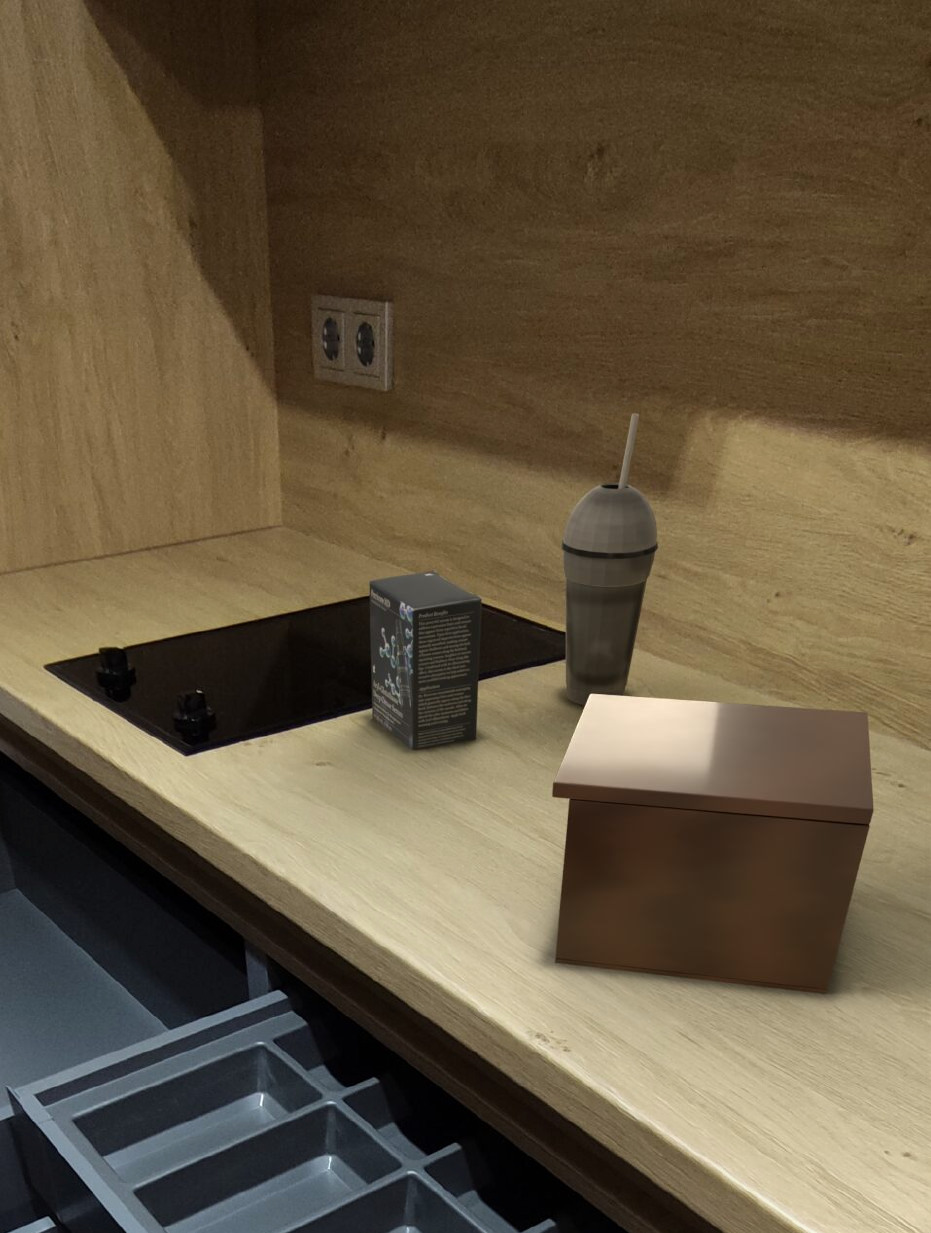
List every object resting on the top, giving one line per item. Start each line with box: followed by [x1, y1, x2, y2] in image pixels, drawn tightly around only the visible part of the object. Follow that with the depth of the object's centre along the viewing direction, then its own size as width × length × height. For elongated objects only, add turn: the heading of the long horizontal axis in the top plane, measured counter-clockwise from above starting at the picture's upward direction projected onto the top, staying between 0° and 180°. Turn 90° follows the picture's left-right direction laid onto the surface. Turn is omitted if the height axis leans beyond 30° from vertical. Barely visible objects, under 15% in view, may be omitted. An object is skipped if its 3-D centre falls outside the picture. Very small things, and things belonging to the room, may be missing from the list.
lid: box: [551, 694, 875, 825], centre depth 66 cm, size 16×14×1 cm
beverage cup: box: [560, 413, 659, 706], centre depth 95 cm, size 7×7×20 cm
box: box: [369, 570, 483, 751], centre depth 93 cm, size 8×6×11 cm
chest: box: [554, 799, 871, 995], centre depth 69 cm, size 15×14×10 cm
